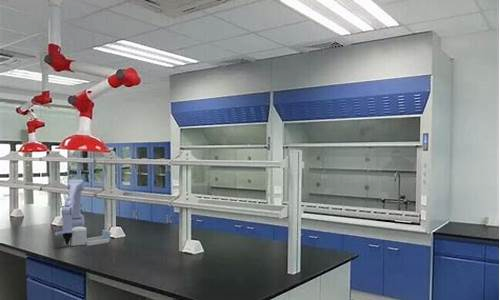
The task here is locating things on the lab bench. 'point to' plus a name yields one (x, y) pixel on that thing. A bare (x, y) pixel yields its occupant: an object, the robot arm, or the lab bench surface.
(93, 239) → the display stand
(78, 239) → the photo printer
